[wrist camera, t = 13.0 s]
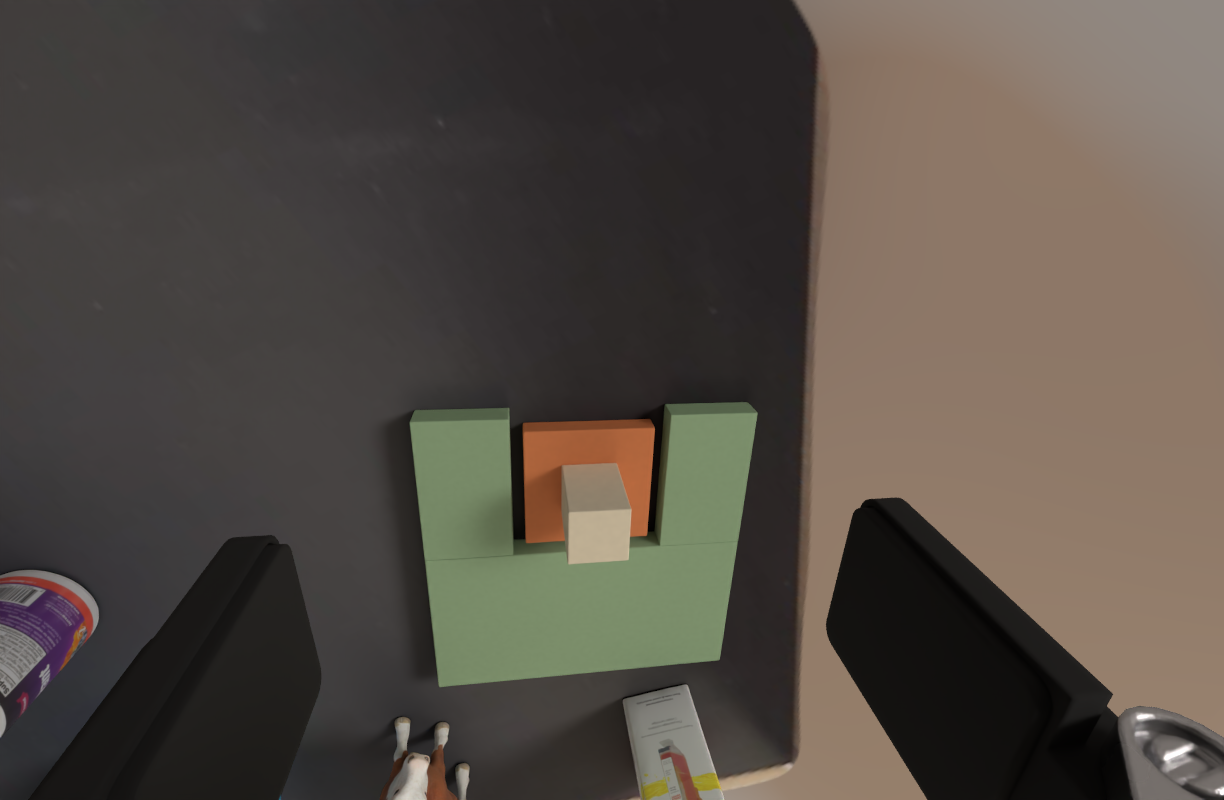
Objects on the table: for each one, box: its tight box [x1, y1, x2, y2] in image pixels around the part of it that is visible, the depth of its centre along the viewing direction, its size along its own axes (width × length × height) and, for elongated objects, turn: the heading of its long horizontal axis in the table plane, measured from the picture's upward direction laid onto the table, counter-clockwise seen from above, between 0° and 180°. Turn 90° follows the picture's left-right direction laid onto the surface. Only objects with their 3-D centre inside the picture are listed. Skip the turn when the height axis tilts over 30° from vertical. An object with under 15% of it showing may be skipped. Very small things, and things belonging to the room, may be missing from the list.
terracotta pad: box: [523, 419, 655, 564], centre depth 29 cm, size 7×7×6 cm
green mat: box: [410, 402, 757, 687], centre depth 33 cm, size 18×18×2 cm
